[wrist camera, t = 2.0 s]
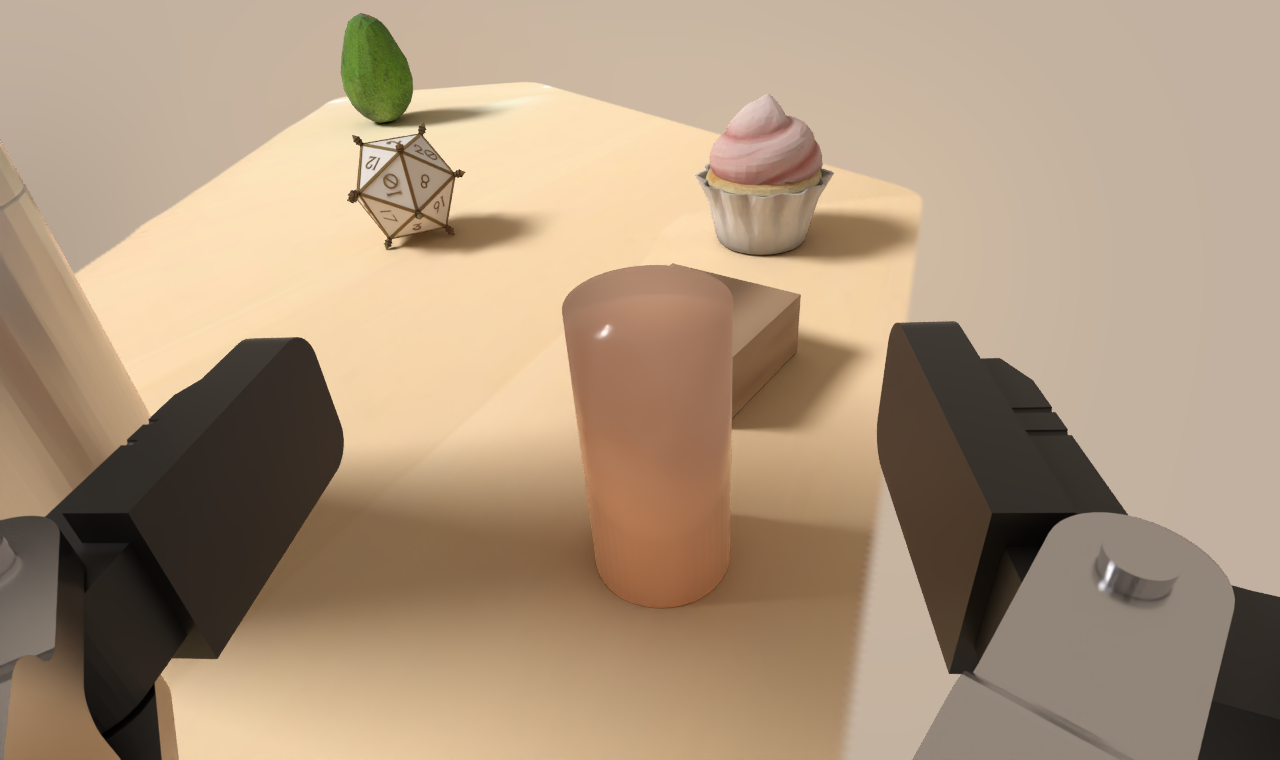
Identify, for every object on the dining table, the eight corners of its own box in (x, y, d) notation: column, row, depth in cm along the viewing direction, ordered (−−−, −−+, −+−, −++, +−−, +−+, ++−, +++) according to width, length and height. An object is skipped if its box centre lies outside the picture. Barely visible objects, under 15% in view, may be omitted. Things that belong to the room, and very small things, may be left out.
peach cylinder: (568, 568, 28) (526, 317, 22) (646, 490, 31) (629, 253, 25) (682, 631, 25) (670, 365, 19) (754, 538, 29) (764, 286, 22)
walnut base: (591, 380, 39) (584, 323, 37) (674, 316, 44) (672, 263, 42) (722, 428, 34) (722, 366, 32) (796, 351, 40) (800, 294, 38)
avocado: (384, 132, 85) (356, 19, 78) (341, 126, 88) (310, 17, 82) (434, 115, 90) (412, 8, 83) (391, 110, 94) (366, 7, 87)
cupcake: (849, 228, 53) (864, 85, 48) (788, 277, 47) (797, 119, 42) (739, 206, 58) (741, 74, 53) (671, 248, 52) (666, 104, 47)
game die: (437, 268, 61) (471, 152, 61) (452, 269, 53) (491, 137, 53) (325, 231, 57) (361, 109, 57) (323, 228, 50) (364, 85, 49)
